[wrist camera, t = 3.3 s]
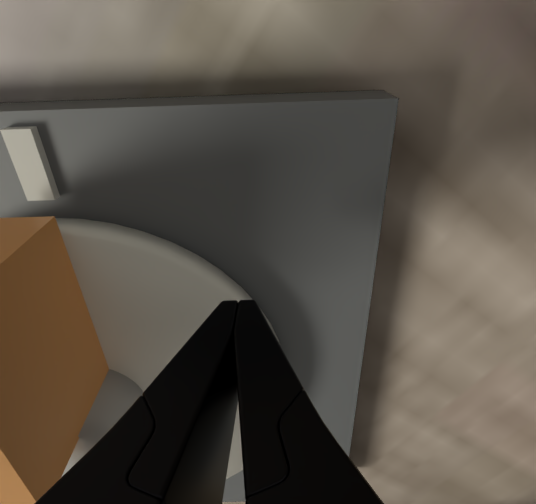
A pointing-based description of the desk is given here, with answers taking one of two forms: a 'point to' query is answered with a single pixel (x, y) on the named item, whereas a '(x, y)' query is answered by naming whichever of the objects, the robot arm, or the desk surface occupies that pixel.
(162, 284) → the dial
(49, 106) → the dial board
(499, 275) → the desk surface
